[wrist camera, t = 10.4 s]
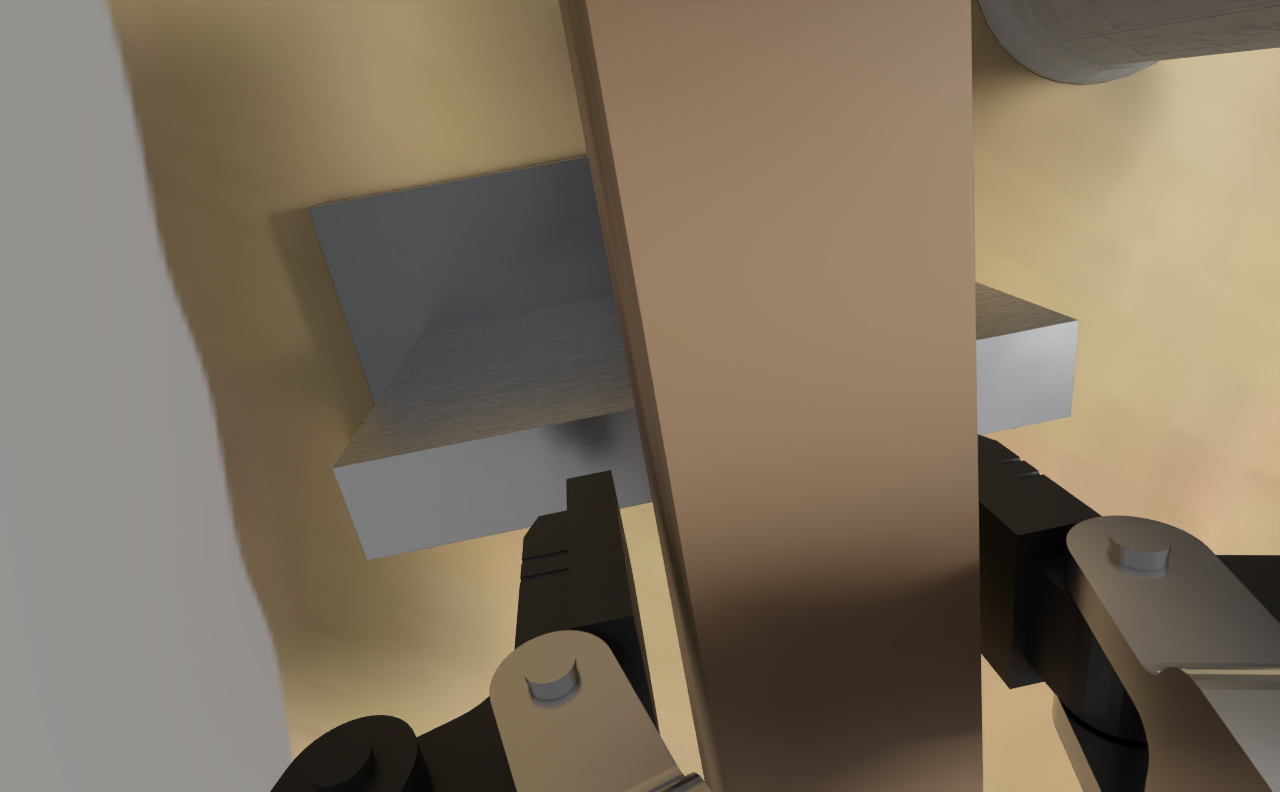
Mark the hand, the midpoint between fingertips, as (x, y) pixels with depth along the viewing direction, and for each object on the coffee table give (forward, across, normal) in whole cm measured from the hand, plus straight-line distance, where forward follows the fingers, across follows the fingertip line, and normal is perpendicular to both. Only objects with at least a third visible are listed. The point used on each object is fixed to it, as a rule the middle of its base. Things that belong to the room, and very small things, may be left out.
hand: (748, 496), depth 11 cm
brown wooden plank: (+2, 0, 0) cm, 2 cm away
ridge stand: (+12, 0, 0) cm, 12 cm away
